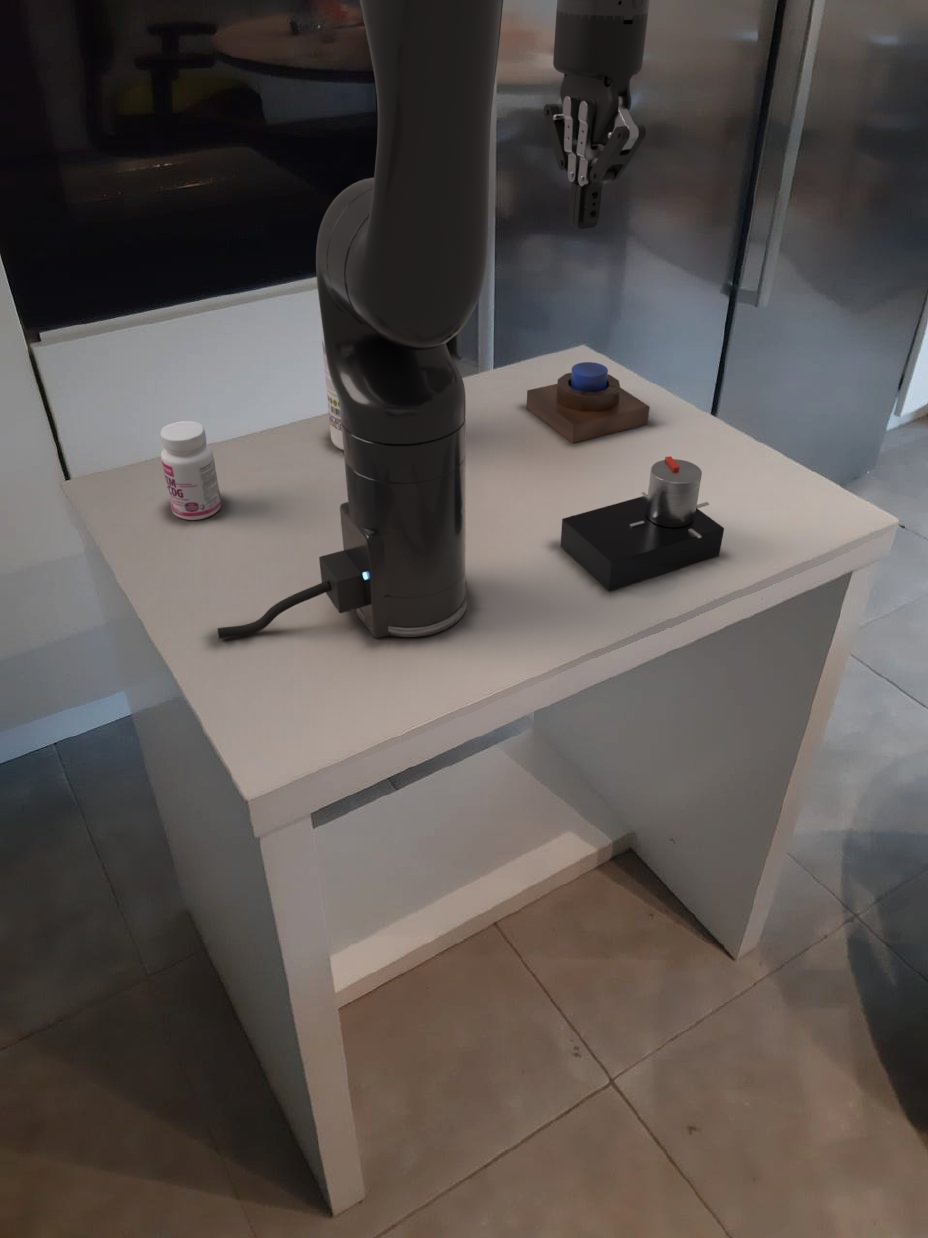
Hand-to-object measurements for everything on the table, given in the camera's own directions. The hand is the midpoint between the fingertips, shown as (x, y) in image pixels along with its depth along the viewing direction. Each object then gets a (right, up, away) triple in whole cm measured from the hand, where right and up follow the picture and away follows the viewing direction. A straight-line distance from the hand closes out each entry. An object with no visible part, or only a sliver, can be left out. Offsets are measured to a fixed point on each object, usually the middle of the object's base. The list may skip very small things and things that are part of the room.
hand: (583, 225), depth 91 cm
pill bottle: (-37, -26, +5) cm, 45 cm away
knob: (+8, -27, -2) cm, 28 cm away
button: (+3, -10, +19) cm, 22 cm away
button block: (+3, -13, +21) cm, 25 cm away
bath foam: (-22, -17, +17) cm, 32 cm away
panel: (+5, -30, -1) cm, 31 cm away
